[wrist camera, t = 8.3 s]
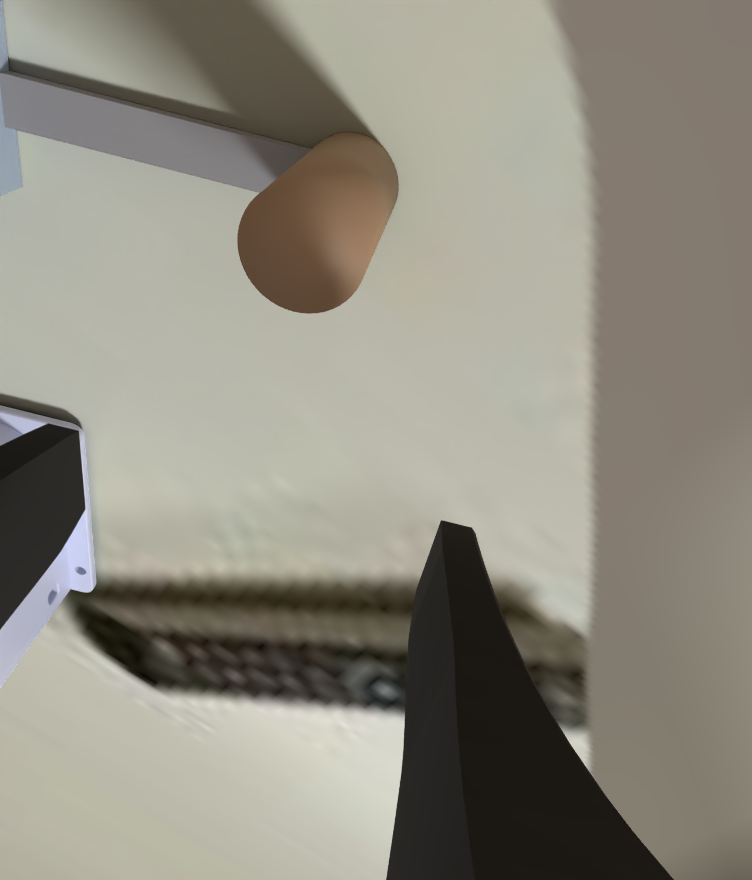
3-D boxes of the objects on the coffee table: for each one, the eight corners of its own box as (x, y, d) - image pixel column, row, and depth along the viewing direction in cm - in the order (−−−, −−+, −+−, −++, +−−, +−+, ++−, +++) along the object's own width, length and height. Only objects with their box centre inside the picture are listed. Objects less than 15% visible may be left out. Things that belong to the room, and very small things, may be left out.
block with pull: (379, 278, 20) (345, 369, 15) (-136, 146, 20) (-340, 193, 15) (418, 102, 17) (392, 142, 12) (-183, -54, 17) (-456, -77, 12)
